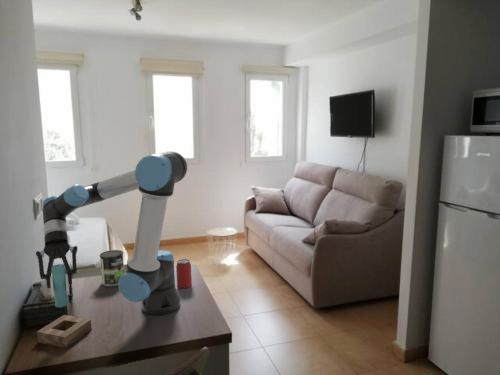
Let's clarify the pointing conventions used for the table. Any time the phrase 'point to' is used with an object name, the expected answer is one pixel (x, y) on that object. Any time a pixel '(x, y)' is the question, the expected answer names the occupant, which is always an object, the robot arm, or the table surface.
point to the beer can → (183, 273)
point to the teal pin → (59, 285)
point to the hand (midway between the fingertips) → (60, 294)
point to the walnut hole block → (64, 331)
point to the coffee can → (111, 267)
